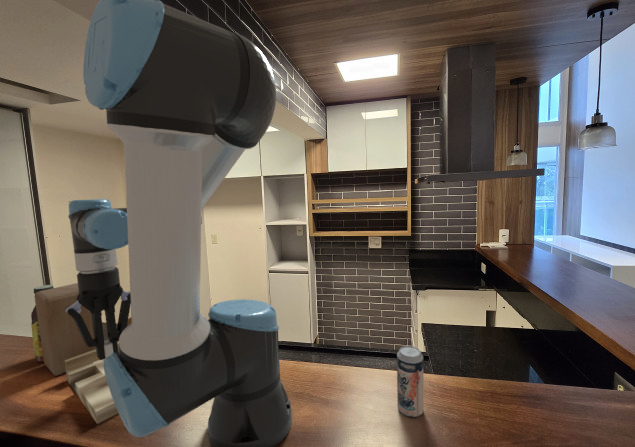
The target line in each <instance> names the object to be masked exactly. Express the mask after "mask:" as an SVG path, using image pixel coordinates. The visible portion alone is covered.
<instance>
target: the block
mask: <svg viewBox="0 0 635 447" xmlns="http://www.w3.org/2000/svg"><path fill="white" fill-rule="evenodd" d="M78 294H79V289H78V282H76V283H72V284H67V285H64V286H58V287H54V288H52V289H48V290H43V291H39V292H37V293H35V294H34V297H33V298H34V302H35V305H36V311H37V318H38V324H39V331H40V338H41V345H42V352H43V359H44V361H43V363H44V366H46V367H47V368H48V370H49V371H50V372H51V373H52V374H53V376H59V375H62V374H64V373H65V374H66V368H65V361H64V360H67V359H70V358H73V357H75V356H78V355H81V354H84V353H87V352H89V351H92V350H95V349H96V346H94V347H88V346H87V345H86V344H85V342H84V340H83V338H82V336H81V334H80V332H79V330H78V328H77V326H76V324H75V322H74V320H73V318H72V316H70V315H69V314H68V313H67V312H66V311H65V308H66V307H68V306H71V305H73V304H74V303H75V302H76V301H77V297H78ZM80 308H81V312H80V313H79V314H80V315H81V316H82V318H83V320H84V322H85V324H86V326H87V328H88V330H89V333H90V335H91V337H92V339H94V332H93V324H92V316H91V312H90V311H89V310H88V309H86V308H85V307H84V306H82V305H81V306H80Z"/></svg>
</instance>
